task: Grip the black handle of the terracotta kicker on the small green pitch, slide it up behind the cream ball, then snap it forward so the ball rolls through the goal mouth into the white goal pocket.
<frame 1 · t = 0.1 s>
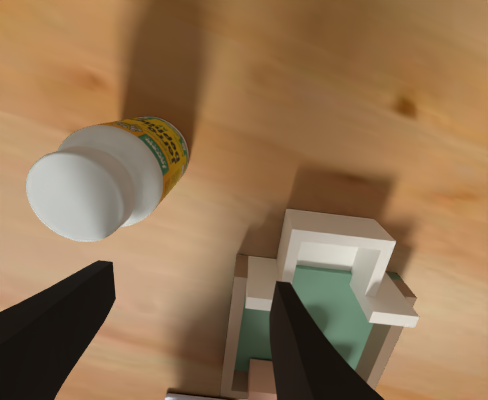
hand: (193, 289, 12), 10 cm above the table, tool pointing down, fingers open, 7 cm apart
pitch: (301, 324, 25), on the table
supplement bottle: (156, 152, 20), on the table
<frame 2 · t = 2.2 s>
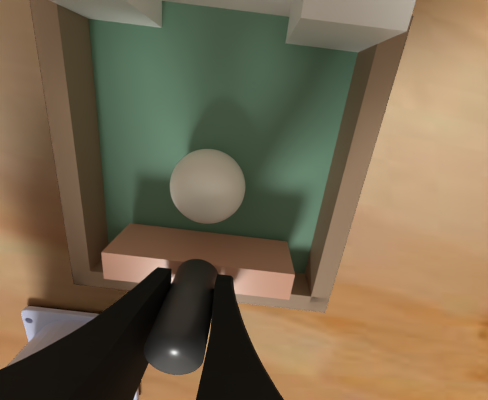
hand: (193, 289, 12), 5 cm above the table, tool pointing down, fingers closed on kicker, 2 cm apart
ball: (208, 186, 12), point 3 cm above the table, touching pitch
pitch: (216, 162, 15), on the table
kicker: (195, 283, 12), point 5 cm above the table, slide at 0.0 cm, touching gripper
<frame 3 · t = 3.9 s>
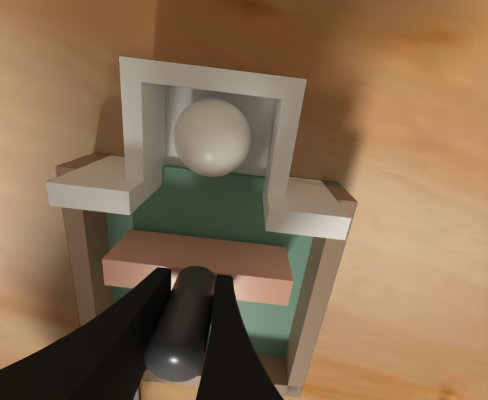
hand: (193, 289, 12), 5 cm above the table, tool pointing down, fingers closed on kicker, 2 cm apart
ball: (212, 138, 12), point 2 cm above the table, tilted 49°, touching pitch
pitch: (208, 269, 17), on the table
kicker: (195, 290, 12), point 5 cm above the table, slide at 6.9 cm, touching gripper
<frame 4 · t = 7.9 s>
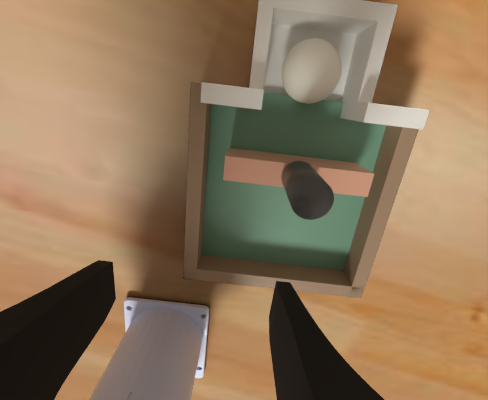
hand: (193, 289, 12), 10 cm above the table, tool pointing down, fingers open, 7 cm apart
ball: (310, 72, 16), point 2 cm above the table, tilted 66°, touching pitch
pitch: (283, 191, 21), on the table
kicker: (299, 179, 15), point 5 cm above the table, slide at 6.9 cm
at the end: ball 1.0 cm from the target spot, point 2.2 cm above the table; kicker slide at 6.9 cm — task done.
